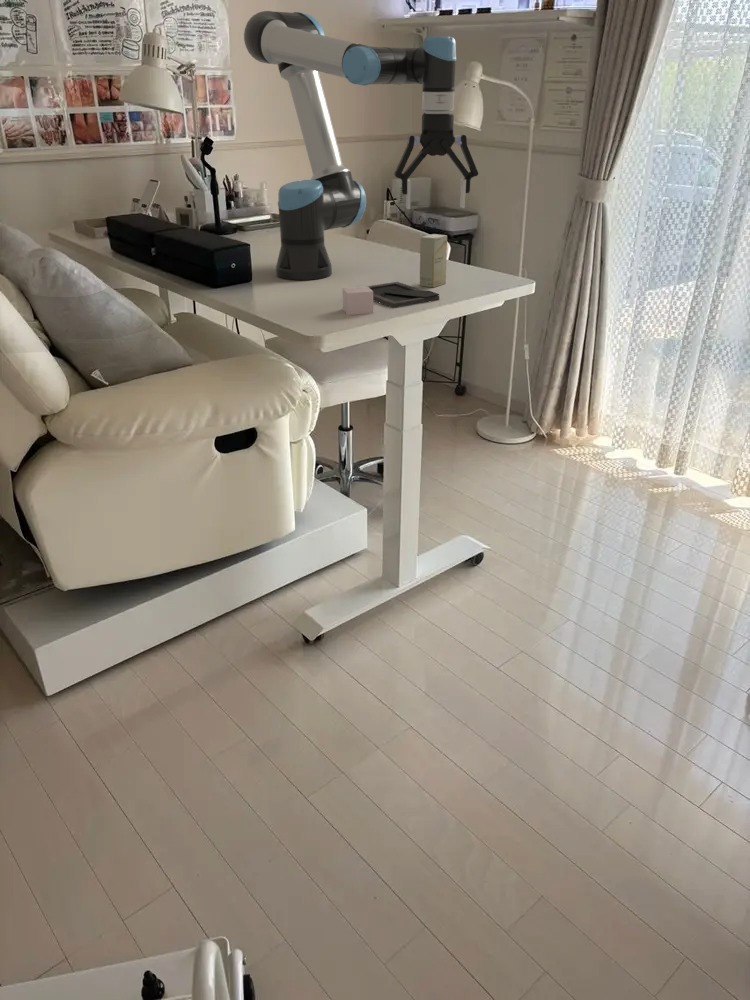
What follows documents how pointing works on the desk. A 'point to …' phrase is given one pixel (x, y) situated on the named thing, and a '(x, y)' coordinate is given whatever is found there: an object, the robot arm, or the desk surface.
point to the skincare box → (433, 260)
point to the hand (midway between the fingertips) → (435, 208)
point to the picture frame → (401, 294)
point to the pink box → (357, 300)
